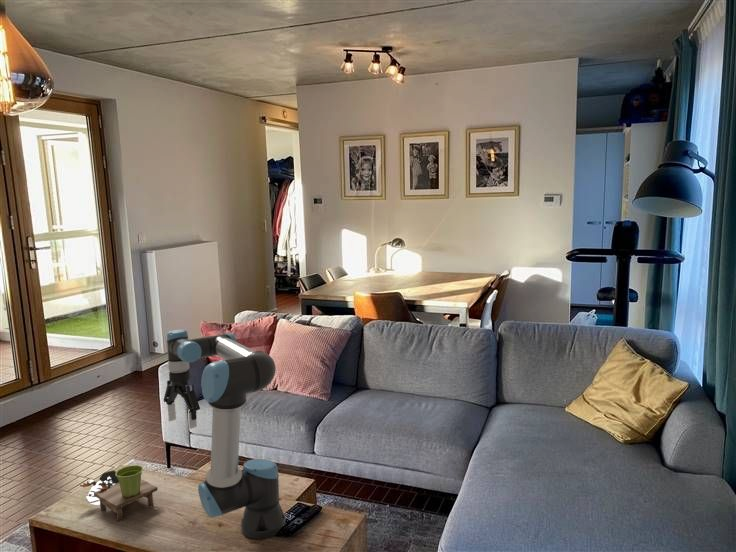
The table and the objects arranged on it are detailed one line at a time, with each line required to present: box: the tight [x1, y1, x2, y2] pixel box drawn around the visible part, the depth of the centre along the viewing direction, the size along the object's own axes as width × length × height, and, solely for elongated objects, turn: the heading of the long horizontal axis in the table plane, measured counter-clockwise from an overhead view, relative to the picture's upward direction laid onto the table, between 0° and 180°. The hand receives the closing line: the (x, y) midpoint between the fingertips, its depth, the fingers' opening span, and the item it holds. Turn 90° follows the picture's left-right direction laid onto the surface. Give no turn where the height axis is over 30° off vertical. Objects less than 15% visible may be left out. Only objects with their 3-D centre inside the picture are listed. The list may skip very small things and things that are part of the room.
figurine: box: [79, 470, 119, 506], centre depth 208 cm, size 14×10×18 cm
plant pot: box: [115, 464, 144, 497], centre depth 197 cm, size 9×9×9 cm
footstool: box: [94, 478, 158, 522], centre depth 200 cm, size 16×16×7 cm
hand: (182, 423), depth 207 cm, fingers open, 13 cm apart
